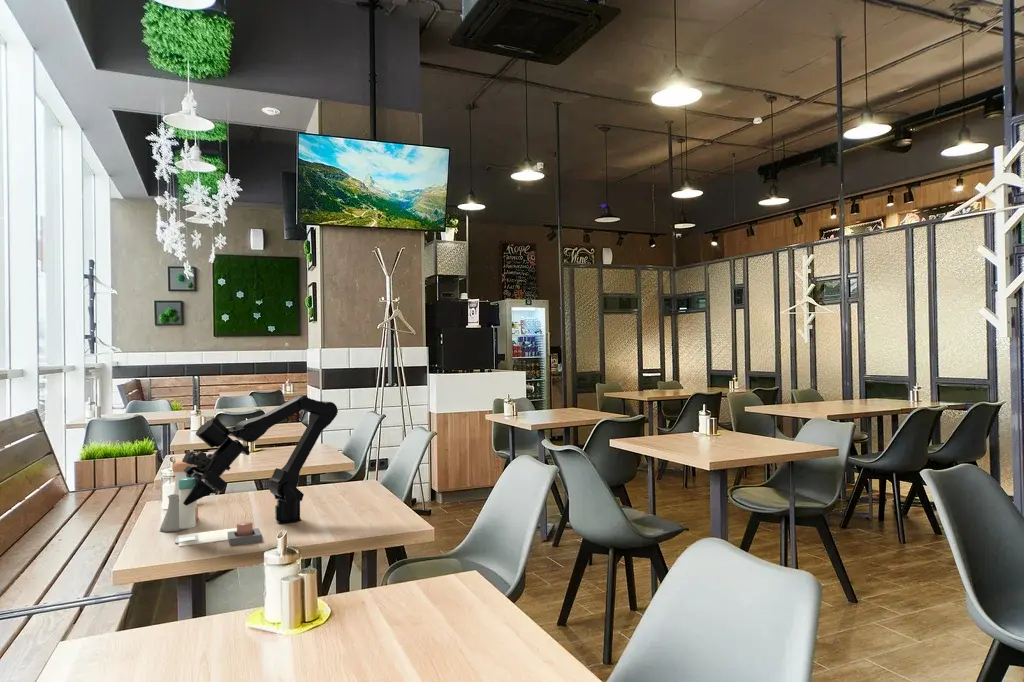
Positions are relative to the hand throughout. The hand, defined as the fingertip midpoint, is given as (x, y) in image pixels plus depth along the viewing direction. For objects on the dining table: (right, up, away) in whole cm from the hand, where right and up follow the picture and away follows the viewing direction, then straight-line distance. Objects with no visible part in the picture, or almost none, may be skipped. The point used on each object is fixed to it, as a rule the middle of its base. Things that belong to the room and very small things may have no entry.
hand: (181, 503), depth 177 cm
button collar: (+17, -10, 0) cm, 20 cm away
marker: (+1, -7, +1) cm, 7 cm away
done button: (+17, -9, 0) cm, 19 cm away
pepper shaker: (-11, -11, +24) cm, 28 cm away
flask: (-9, -11, +13) cm, 19 cm away
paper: (+6, -10, +4) cm, 13 cm away
